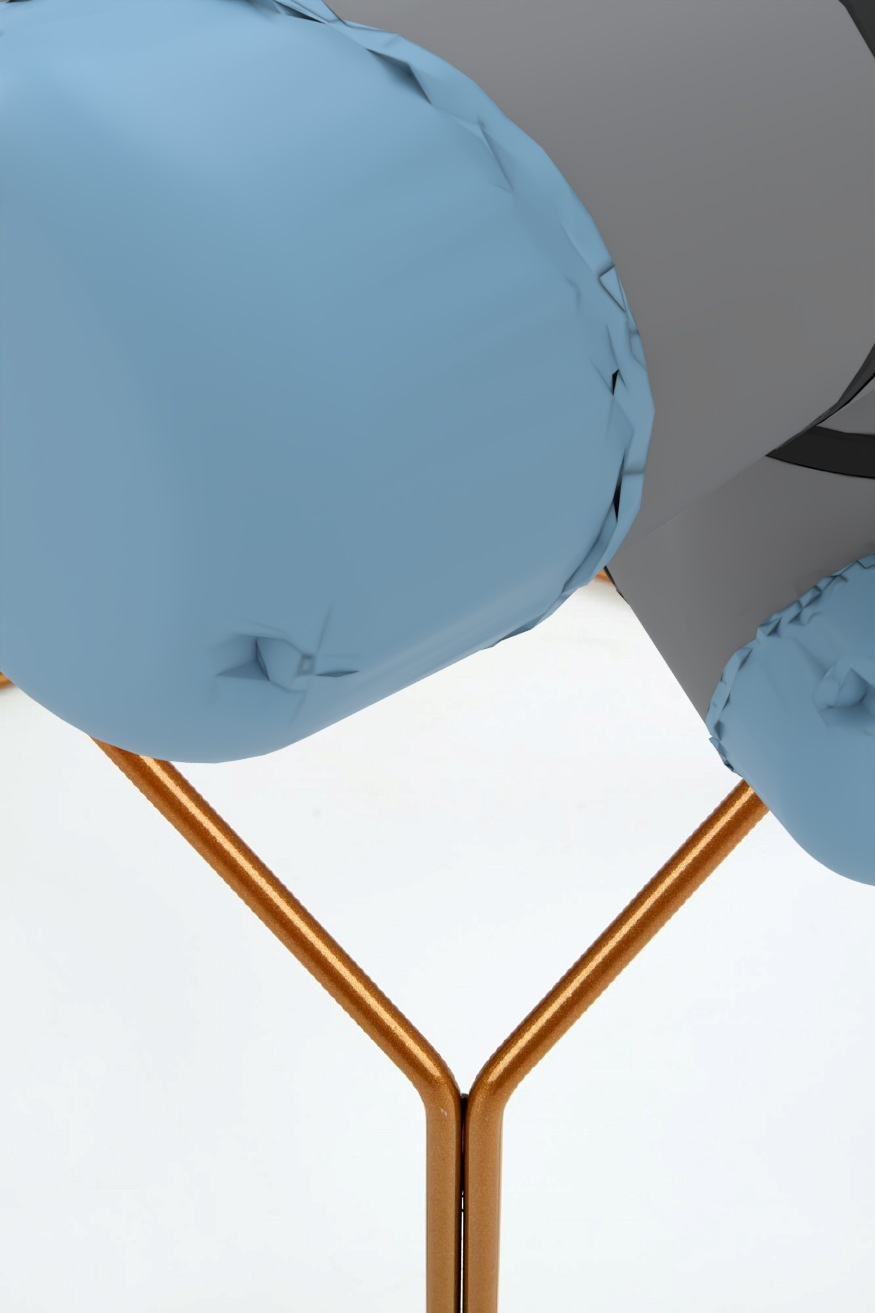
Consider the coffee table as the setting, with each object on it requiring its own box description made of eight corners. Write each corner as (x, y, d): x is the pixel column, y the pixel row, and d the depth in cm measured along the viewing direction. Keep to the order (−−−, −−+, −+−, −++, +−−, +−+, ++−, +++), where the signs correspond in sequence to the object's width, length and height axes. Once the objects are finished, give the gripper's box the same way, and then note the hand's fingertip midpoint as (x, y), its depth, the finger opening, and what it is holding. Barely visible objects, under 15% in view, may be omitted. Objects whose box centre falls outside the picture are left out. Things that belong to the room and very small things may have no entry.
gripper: (427, 572, 39) (284, 277, 58) (881, 508, 42) (601, 245, 61) (420, 294, 35) (268, 75, 54) (925, 242, 38) (610, 50, 57)
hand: (445, 165), depth 58 cm, fingers closed
